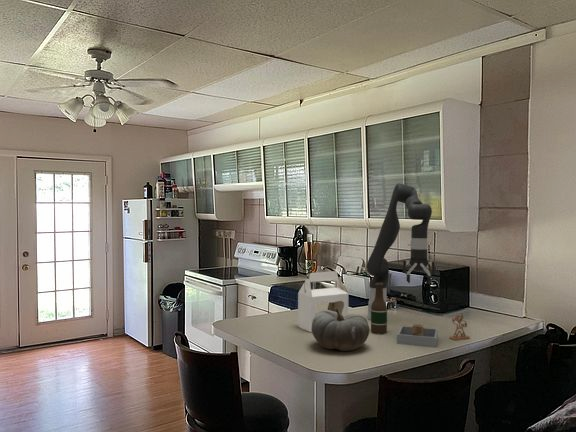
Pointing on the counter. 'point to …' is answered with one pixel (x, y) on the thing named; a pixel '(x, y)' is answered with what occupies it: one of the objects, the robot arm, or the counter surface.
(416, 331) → the walnut block
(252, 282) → the counter surface
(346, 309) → the gable box
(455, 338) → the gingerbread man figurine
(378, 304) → the beer bottle
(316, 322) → the gourd
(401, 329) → the grey bin
